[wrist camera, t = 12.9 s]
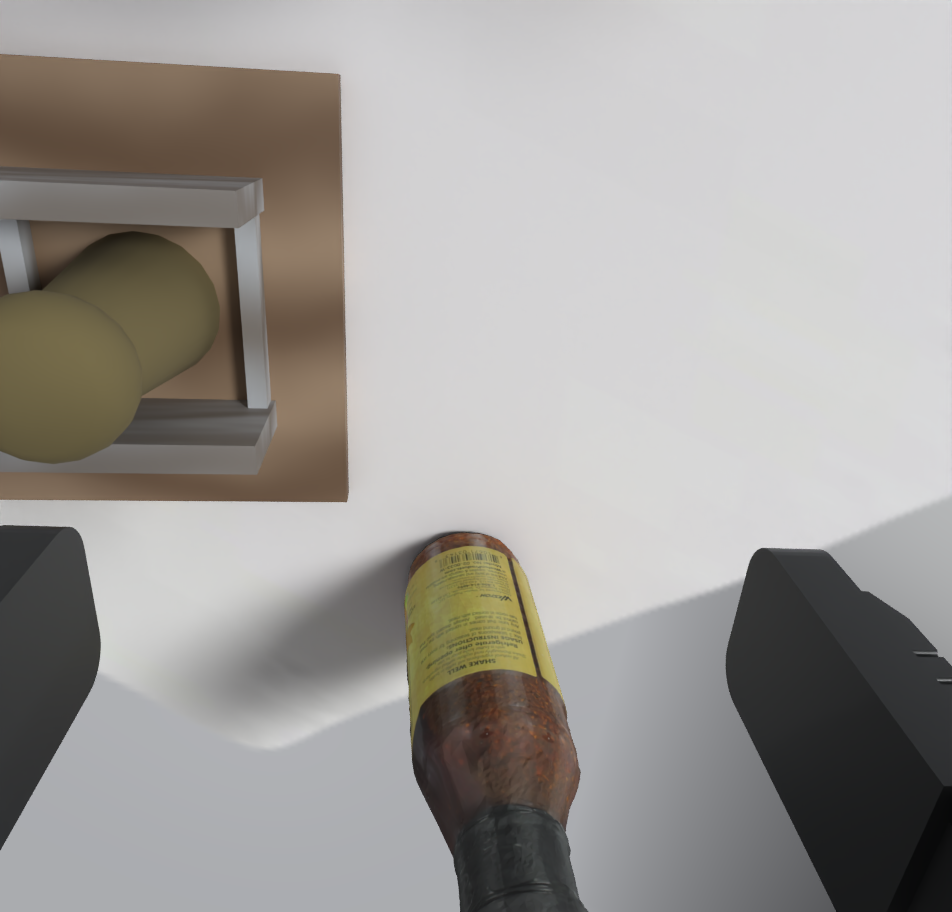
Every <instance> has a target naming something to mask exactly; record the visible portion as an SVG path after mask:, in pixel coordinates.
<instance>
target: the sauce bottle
mask: <svg viewBox="0 0 952 912" xmlns="http://www.w3.org/2000/svg"><path fill="white" fill-rule="evenodd" d="M404 609H405V625H406V647H407V677H408V678H407V680H408V685H409V698H408V699H409V705H410V707H409V711H410V735H411V747H412V763H413V769H414V774H415V777H416V781H417V783H418V785H419V787H420V790H421V792H422V794H423V796H424V798H425V800H426V802H427V804H428V806H429V808H430V810H431V812H432V814H433V816H434V818H435V820H436V822H437V824H438V826H439V828H440V830H441V832H442V834H443V836H444V839H445V841H446V843H447V845H448V847H449V849H450V851H451V853H452V855H453V858H454V867H455V872H456V875H457V879H458V886H459V899H460V912H588V911H587V909H586V908H585V907H584V905H583V904H582V902H581V901H580V899H579V896H578V891H577V887H576V882H575V877H574V873H573V870H572V866H571V862H570V857H569V856H570V847H569V843H568V838H567V836H566V833H565V831H566V824H567V819H568V814H569V809H570V806H571V804H572V802H573V800H574V797H575V795H576V792H577V789H578V784H579V780H580V773H581V772H580V769H579V766H578V760H577V753H576V748H575V746H574V743H573V740H572V737H571V733H570V729H569V727H568V723H567V711H566V707H565V704H564V700H563V697H562V693H561V690H560V686H559V684H558V680H557V677H556V673H555V670H554V667H553V663H552V660H551V657H550V654H549V650H548V647H547V643H546V640H545V637H544V633H543V630H542V626H541V623H540V620H539V616H538V613H537V609H536V606H535V603H534V600H533V596H532V593H531V590H530V586H529V583H528V580H527V577H526V575H525V573H524V571H523V569H522V568H521V566H520V565H519V562H518V560H517V559H516V557H515V556H514V555H513V554H512V552H511V551H510V550H509V549H508V548H507V547H506V546H505V545H504V544H503V543H502V542H501V541H500V540H498V539H495V538H493V537H491V536H488V535H484V534H479V533H475V534H472V533H467V532H466V533H456V534H451V535H448V536H446V537H442V538H439V539H437V540H436V541H435V542H433V543H431V544H430V545H428V546H426V547H425V549H424V550H423V551H422V552H421V553H419V554H418V556H417V557H416V559H415V560H414V562H413V563H412V566H411V569H410V572H409V578H408V586H407V589H406V593H405V600H404Z"/></svg>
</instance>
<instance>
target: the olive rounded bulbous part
mask: <svg viewBox="0 0 952 912" xmlns="http://www.w3.org/2000/svg"><path fill="white" fill-rule="evenodd" d="M219 319H220V305H219V301H218V298H217V294H216V290H215V287H214V284H213V282H212V281H211V279H210V278H209V276H208V274H207V273H206V271H205V270H204V268H203V266H202V265H201V263H199V262H198V261H197V260H196V259H195V258H194V257H193V256H192V255H191V254H189V253H188V252H187V251H186V250H185V249H184V248H183V247H182V246H180V245H178V244H176V243H174V242H172V241H169V240H167V239H165V238H163V237H161V236H159V235H155V234H150V233H144V232H138V231H128V232H121V233H114V234H109V235H107V236H105V237H103V238H101V239H99V240H98V241H96V242H94V243H92V244H90V245H89V246H88V247H87V248H86V249H84V250H83V251H82V252H81V253H80V254H79V255H78V256H77V257H76V258H75V259H74V260H73V261H72V262H71V263H70V264H69V265H68V266H67V267H66V268H65V269H64V270H63V271H62V272H60V273H59V274H58V275H57V276H56V277H55V278H54V279H53V280H52V281H51V282H50V283H49V284H48V285H47V286H46V287H45V288H44V289H43V290H42V291H41V290H33V291H27V292H20V293H13V294H7V295H5V296H2V297H0V451H1V452H3V453H6V454H8V455H11V456H14V457H16V458H19V459H21V460H25V461H32V462H40V463H48V464H59V463H65V462H72V461H79V460H81V459H84V458H86V457H89V456H91V455H93V454H95V453H97V452H99V451H101V450H103V449H105V448H107V447H109V446H110V445H111V444H112V443H113V442H114V441H115V440H116V439H117V438H118V437H119V436H120V435H121V434H122V433H123V432H124V430H125V429H126V428H127V427H128V426H129V425H130V423H131V422H132V421H133V418H134V416H135V413H136V411H137V408H138V406H139V403H140V401H141V396H143V395H145V394H146V393H148V392H150V391H151V390H153V389H155V388H156V387H158V386H160V385H162V384H163V383H165V382H167V381H168V380H170V379H172V378H173V377H175V376H177V375H179V374H180V373H182V372H184V371H185V370H187V369H189V368H190V367H192V366H194V365H195V364H197V363H198V362H199V361H200V360H201V359H202V357H203V356H204V355H205V354H206V353H207V352H208V351H209V350H210V349H211V347H212V345H213V342H214V340H215V337H216V335H217V333H218V330H219Z"/></svg>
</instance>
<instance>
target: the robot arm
mask: <svg viewBox="0 0 952 912" xmlns="http://www.w3.org/2000/svg"><path fill="white" fill-rule="evenodd" d="M100 649H101V642H100V632H99V626H98V621H97V615H96V610H95V604H94V599H93V593H92V588H91V582H90V577H89V571H88V566H87V560H86V555H85V549H84V545H83V541H82V538H81V536H80V534H79V533H78V532H77V530H76V529H74V528H72V527H50V526H14V525H3V526H0V850H1V848H2V846H3V845H4V843H5V841H6V839H7V838H8V836H9V834H10V832H11V830H12V829H13V827H14V825H15V823H16V822H17V820H18V818H19V816H20V815H21V813H22V811H23V809H24V807H25V806H26V804H27V802H28V800H29V798H30V797H31V795H32V793H33V791H34V790H35V788H36V786H37V784H38V783H39V781H40V779H41V777H42V776H43V774H44V772H45V770H46V768H47V767H48V765H49V763H50V762H51V760H52V758H53V756H54V754H55V753H56V751H57V749H58V747H59V745H60V744H61V742H62V740H63V739H64V737H65V735H66V733H67V731H68V730H69V728H70V726H71V724H72V723H73V721H74V719H75V717H76V716H77V714H78V712H79V710H80V708H81V706H82V705H83V703H84V701H85V700H86V698H87V696H88V694H89V692H90V690H91V688H92V686H93V684H94V681H95V678H96V675H97V671H98V666H99V660H100ZM726 676H727V683H728V688H729V692H730V695H731V698H732V700H733V703H734V705H735V707H736V709H737V711H738V713H739V715H740V717H741V719H742V721H743V723H744V725H745V727H746V729H747V731H748V733H749V735H750V737H751V739H752V741H753V743H754V745H755V747H756V749H757V751H758V753H759V755H760V758H761V760H762V762H763V764H764V766H765V767H766V770H767V772H768V774H769V776H770V778H771V780H772V782H773V784H774V786H775V788H776V790H777V792H778V794H779V796H780V798H781V800H782V802H783V804H784V806H785V808H786V810H787V812H788V814H789V816H790V819H791V820H792V823H793V824H794V827H795V829H796V831H797V833H798V835H799V837H800V839H801V841H802V843H803V845H804V847H805V849H806V851H807V853H808V855H809V857H810V859H811V861H812V863H813V865H814V867H815V869H816V871H817V873H818V875H819V877H820V879H821V882H822V884H823V886H824V888H825V889H826V892H827V894H828V896H829V898H830V900H831V902H832V904H833V906H834V908H835V910H836V912H952V666H951V665H950V664H949V663H948V662H947V661H946V659H945V658H943V657H938V655H937V649H936V648H935V647H934V646H933V645H932V644H931V643H930V642H929V641H928V640H927V638H926V637H925V636H924V635H923V634H922V633H921V632H920V631H919V629H918V628H917V627H916V626H915V625H914V624H913V623H912V622H911V621H910V619H908V618H907V617H905V616H904V615H902V614H901V613H899V612H898V611H896V610H895V609H893V608H892V607H890V606H889V605H887V604H886V603H884V602H883V601H882V600H880V599H879V598H877V597H876V596H874V595H873V594H871V593H870V592H865V591H861V590H860V589H859V588H858V587H857V586H856V585H855V583H854V582H853V581H852V580H851V578H850V577H849V576H848V575H847V574H846V573H845V571H844V570H843V569H842V568H841V567H840V566H839V565H838V563H837V562H836V561H835V560H834V559H833V558H832V557H831V555H830V554H828V553H827V552H826V551H824V550H817V549H780V548H761V549H759V550H757V551H756V552H755V553H754V555H753V556H752V558H751V560H750V563H749V566H748V569H747V573H746V577H745V581H744V585H743V589H742V593H741V597H740V600H739V604H738V608H737V612H736V616H735V620H734V624H733V628H732V631H731V636H730V639H729V643H728V647H727V653H726Z"/></svg>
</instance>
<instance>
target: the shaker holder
mask: <svg viewBox="0 0 952 912" xmlns="http://www.w3.org/2000/svg"><path fill="white" fill-rule="evenodd" d="M128 231H138V232H144V233H150V234H155V235H159V236H161V237H163V238H165V239H167V240H169V241H172V242H174V243H176V244H178V245H180V246H182V247H183V248H184V249H185V250H186V251H187V252H188V253H189V254H191V255H192V256H193V257H194V258H195V259H196V260H197V261H198V262H199V263H201V265H202V266H203V268H204V270H205V271H206V273H207V274H208V276H209V278H210V279H211V281H212V282H213V284H214V287H215V290H216V294H217V298H218V301H219V305H220V319H219V330H218V333H217V335H216V337H215V340H214V342H213V345H212V347H211V349H210V350H209V351H208V352H207V353H206V354H205V355H204V356H203V357H202V359H201V360H200V361H199V362H198V363H197V364H195V365H194V366H192V367H190V368H189V369H187V370H185V371H184V372H182V373H180V374H179V375H177V376H175V377H173V378H172V379H170V380H168V381H167V382H165V383H163V384H162V385H160V386H158V387H156V388H155V389H153V390H151V391H150V392H148V393H146V394H145V395H143V396H141V401H140V403H139V406H138V408H137V411H136V413H135V416H134V418H133V421H132V422H131V423H130V425H129V426H128V427H127V428H126V429H125V430H124V432H123V433H122V434H121V435H120V436H119V437H118V438H117V439H116V440H115V441H114V442H113V443H112V444H111V445H110V446H109V447H107V448H105V449H103V450H101V451H99V452H97V453H95V454H93V455H91V456H89V457H86V458H84V459H81V460H79V461H72V462H65V463H59V464H48V463H40V462H32V461H25V460H21V459H19V458H16V457H14V456H11V455H8V454H6V453H3V452H1V451H0V500H129V501H270V502H347V499H348V493H349V487H348V437H347V387H346V337H345V288H344V238H343V188H342V138H341V89H340V75H339V74H330V73H313V72H296V71H279V70H262V69H245V68H228V67H211V66H194V65H177V64H160V63H143V62H126V61H109V60H92V59H75V58H58V57H41V56H24V55H6V54H0V297H2V296H5V295H7V294H13V293H20V292H27V291H33V290H41V291H42V290H43V289H44V288H45V287H46V286H47V285H48V284H49V283H50V282H51V281H52V280H53V279H54V278H55V277H56V276H57V275H58V274H59V273H60V272H62V271H63V270H64V269H65V268H66V267H67V266H68V265H69V264H70V263H71V262H72V261H73V260H74V259H75V258H76V257H77V256H78V255H79V254H80V253H81V252H82V251H83V250H84V249H86V248H87V247H88V246H89V245H90V244H92V243H94V242H96V241H98V240H99V239H101V238H103V237H105V236H107V235H109V234H114V233H121V232H128Z"/></svg>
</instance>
